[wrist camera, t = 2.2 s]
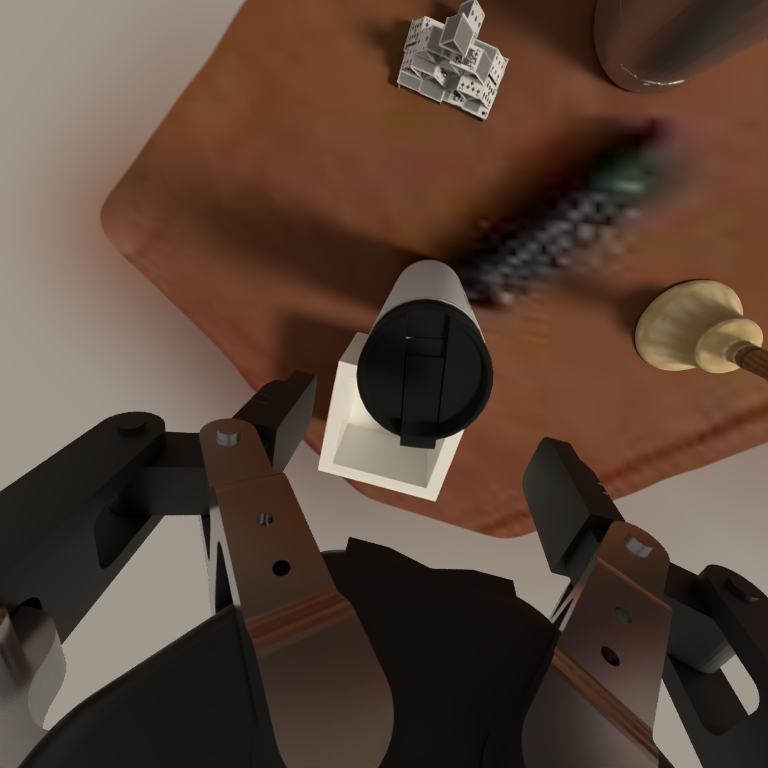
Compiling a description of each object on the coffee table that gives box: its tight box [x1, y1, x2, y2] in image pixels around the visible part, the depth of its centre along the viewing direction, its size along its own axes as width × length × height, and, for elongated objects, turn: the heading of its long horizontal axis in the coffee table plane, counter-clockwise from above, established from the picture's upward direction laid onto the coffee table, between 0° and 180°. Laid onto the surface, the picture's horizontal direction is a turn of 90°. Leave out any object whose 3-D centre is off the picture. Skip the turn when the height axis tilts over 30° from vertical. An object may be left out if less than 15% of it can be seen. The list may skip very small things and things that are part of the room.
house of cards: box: [397, 0, 509, 119], centre depth 23 cm, size 9×9×8 cm
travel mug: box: [356, 260, 493, 449], centre depth 25 cm, size 6×7×20 cm
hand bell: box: [635, 280, 768, 381], centre depth 25 cm, size 8×8×16 cm
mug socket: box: [318, 332, 464, 501], centre depth 35 cm, size 11×12×8 cm
